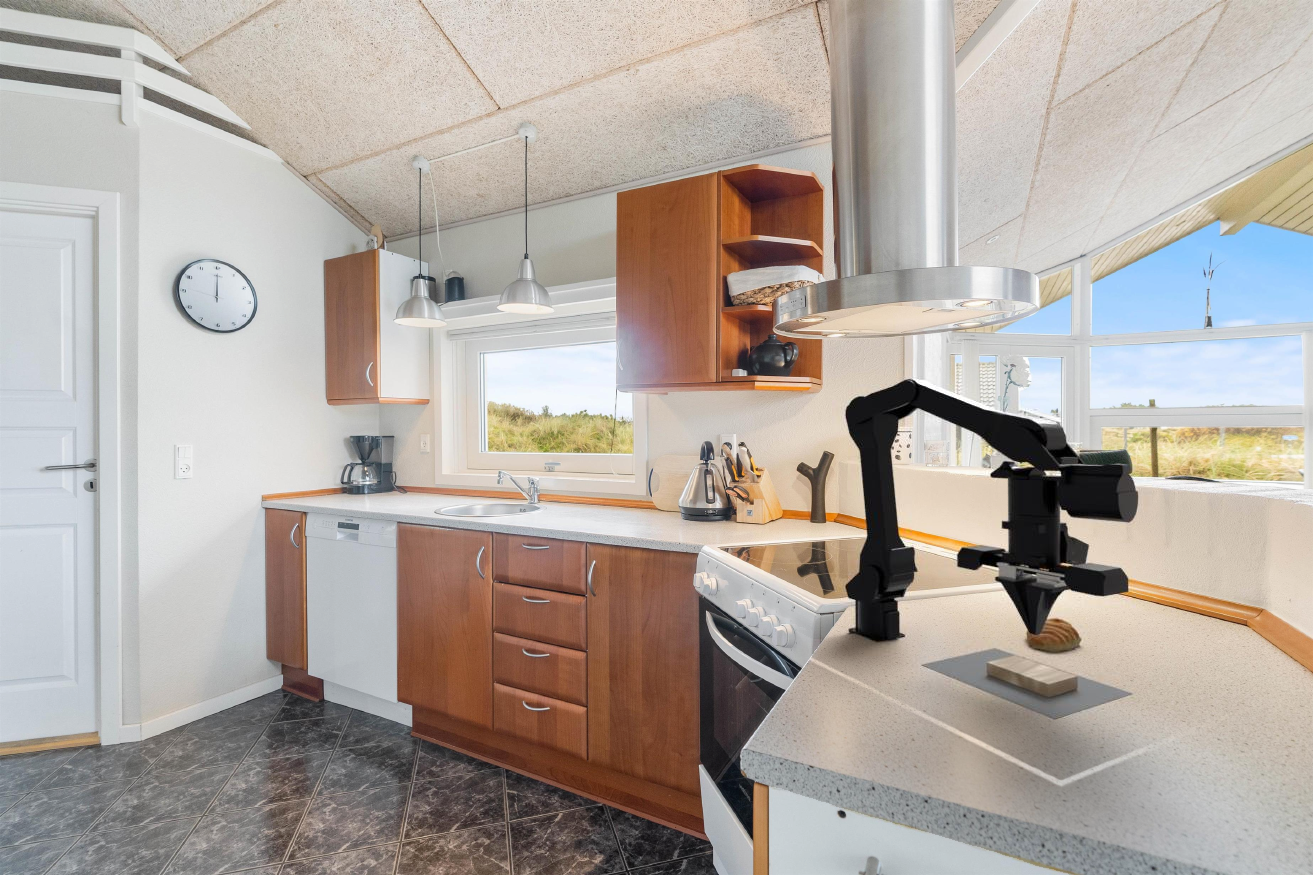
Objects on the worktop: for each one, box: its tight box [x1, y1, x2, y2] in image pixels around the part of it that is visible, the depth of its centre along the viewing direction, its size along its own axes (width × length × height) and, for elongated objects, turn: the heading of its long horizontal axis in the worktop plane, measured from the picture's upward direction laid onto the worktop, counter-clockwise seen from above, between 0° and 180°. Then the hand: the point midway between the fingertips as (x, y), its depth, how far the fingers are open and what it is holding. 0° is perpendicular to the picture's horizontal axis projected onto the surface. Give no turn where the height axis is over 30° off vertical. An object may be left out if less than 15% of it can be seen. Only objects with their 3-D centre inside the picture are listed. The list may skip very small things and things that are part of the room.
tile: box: [987, 655, 1078, 697], centre depth 75 cm, size 2×6×8 cm
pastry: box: [1026, 617, 1082, 653], centre depth 90 cm, size 9×7×4 cm
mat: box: [921, 647, 1133, 720], centre depth 77 cm, size 18×16×1 cm
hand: (1034, 634), depth 75 cm, fingers closed
